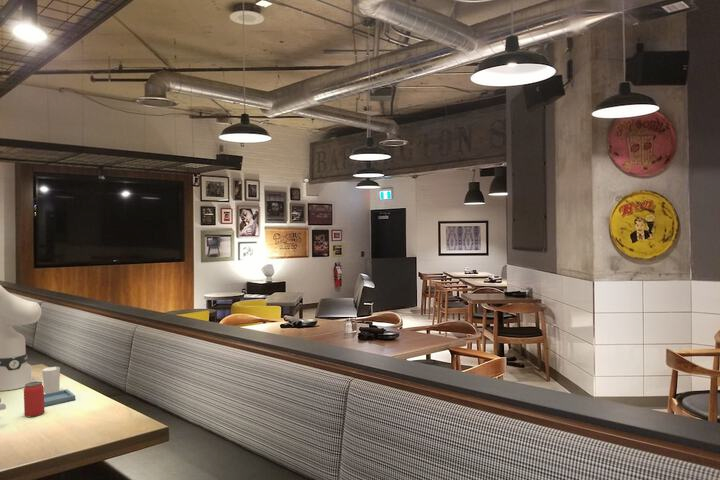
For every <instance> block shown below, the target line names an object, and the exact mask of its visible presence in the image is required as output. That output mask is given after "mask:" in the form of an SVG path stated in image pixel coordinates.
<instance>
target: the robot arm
mask: <svg viewBox="0 0 720 480" xmlns="http://www.w3.org/2000/svg"><path fill="white" fill-rule="evenodd" d="M42 312H43V311H42V307H41V305H40V304H39V303H38V302H36V301H32V300H28V299H25V298H21V297H19V296H17V295H15V294H12V293H10V292H9V291H8V290H6V289H5V288H4V287H3V285H1V284H0V392H1V391H3V392H4V391H11V390H17V389H22V388H25V385H26V384H27V383H31V382H37V379H36V378H33V372H32V365H31V364H29V363H28V353H26V351H27V350H26V337H25V336H24V335H23V334H22V333H19V332H17V331H16V330H15V329H14V328H13V326H25V325H30V324H31V325H32V324H34V323H37V322H38V321H39V320H40V318H41V317H42ZM6 409H7V406H6V404H5V403H2V398H1V397H0V411H3V410H6Z"/></svg>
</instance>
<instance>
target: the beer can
mask: <svg viewBox="0 0 720 480" xmlns="http://www.w3.org/2000/svg"><path fill="white" fill-rule="evenodd" d="M23 388H24V389H23V407H24V408H23V409H24V410H23V411H24V412H23V413H24V416H25V417H27V418H34V417H38V416H41V415H43V414H44V413H45V407H44V394H45V393H44V385H43V381H36V382H31V383H27V384H26V385H25V387H23Z"/></svg>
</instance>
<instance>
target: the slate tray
mask: <svg viewBox="0 0 720 480" xmlns="http://www.w3.org/2000/svg"><path fill="white" fill-rule="evenodd" d="M74 401H76V395H75V394H74V393H73V392H72V391H71V390H69V389H68V388H65V389H63V390H59V391H56V392H51V393H44V408H46V407H50V406H51V407H52V406H55V405H60V404H64V403H68V402H74Z"/></svg>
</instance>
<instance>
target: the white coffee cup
mask: <svg viewBox="0 0 720 480" xmlns="http://www.w3.org/2000/svg"><path fill="white" fill-rule="evenodd" d="M60 371H61V367H59V366H50V367H45V368H43V369H42V370H41V372H42V385H43V387H44V394H46V393H51V392H56V391H60V381H61V380H60V378H61V377H60V374H61V373H60Z"/></svg>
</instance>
